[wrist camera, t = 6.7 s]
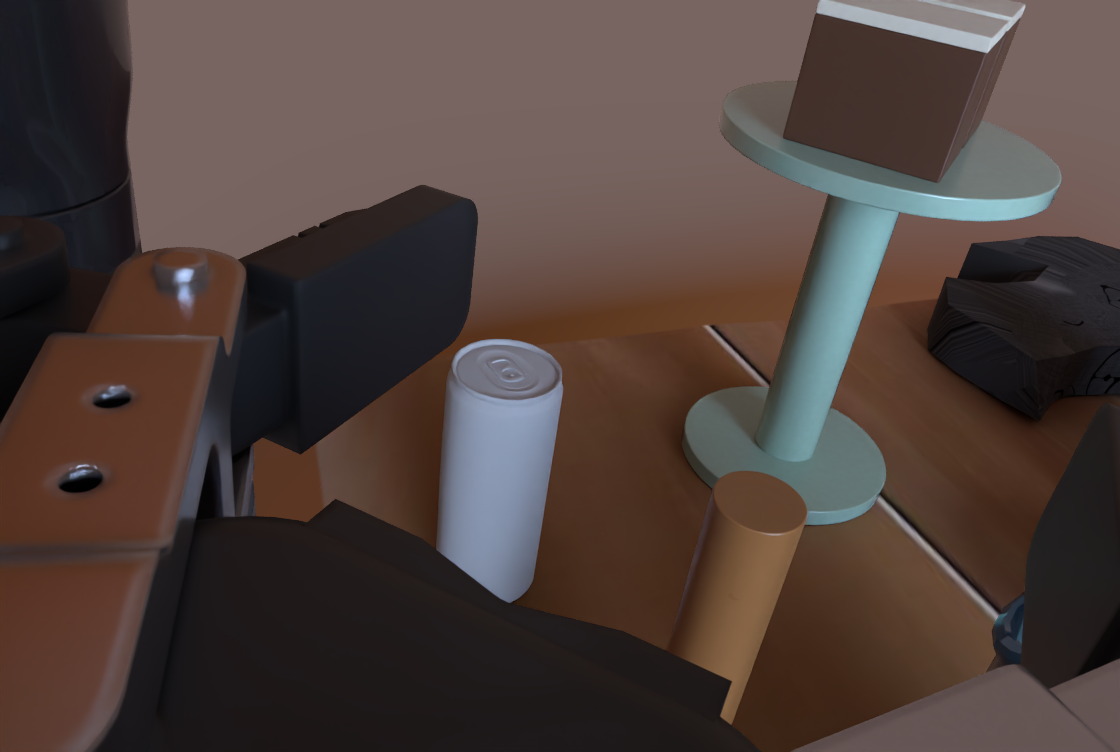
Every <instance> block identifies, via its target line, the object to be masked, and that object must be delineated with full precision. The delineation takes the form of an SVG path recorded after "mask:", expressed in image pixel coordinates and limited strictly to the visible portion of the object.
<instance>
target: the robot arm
mask: <svg viewBox="0 0 1120 752" xmlns="http://www.w3.org/2000/svg"><path fill="white" fill-rule="evenodd" d="M131 48H132V47H131V37H130V26H129V15H128V2H127V0H0V752H761V751H760V750H759V749H758V748H757V747H756V746H755V745H754V744H752V743H751V742H750V741H749V740H748V739H747V738H746V737H745V736H744V735H743V734H742V733H741V732H739V731H738V730H737V729H736V728H734V727H733V726H732V725H731V724H729V723H728V722H727V721H725V720H724V719H723V718H722V717H720V715H721V713H722V710H723V707H724V704H725V701H726V698H727V695H728V692H729V689H730V686H731V683H732V681H730V680H728V679H726V678H724V677H722V676H719V675H717V674H715V673H713V672H711V671H709V670H706V669H704V668H702V667H700V666H698V665H696V664H693V663H691V662H689V661H687V660H685V659H682V658H680V657H678V656H676V655H674V654H672V653H669V652H667V651H665V650H663V649H661V648H659V647H656V646H654V645H652V644H650V643H648V642H646V641H643V640H641V639H639V638H637V637H635V636H632V635H630V634H628V633H626V632H624V631H620V630H616V629H612V628H608V627H604V626H600V625H596V624H592V623H588V622H584V621H580V620H576V619H571V618H567V617H563V616H559V615H555V614H551V613H547V612H543V611H539V610H535V609H531V608H527V607H523V606H518V605H515V604H512V603H508V602H506V601H504V600H502V599H500V598H499V597H497V596H496V595H494V594H493V593H492V592H490V591H489V590H488V589H486V588H485V587H484V586H483V585H481V584H480V583H479V582H477V581H476V580H475V579H474V578H472V577H471V576H470V575H468V574H467V573H466V572H464V571H463V570H462V569H461V568H459V567H458V566H457V565H455V564H454V563H453V562H452V561H450V560H449V559H448V558H446V557H445V556H444V555H442V554H441V553H440V552H439V551H437V550H436V549H435V548H433V547H432V546H431V545H430V544H428V543H427V542H426V541H424V540H423V539H422V538H419V537H417V536H415V535H413V534H411V533H409V532H406V531H404V530H402V529H400V528H398V527H396V526H393V525H391V524H389V523H387V522H385V521H382V520H380V519H378V518H376V517H374V516H372V515H369V514H367V513H365V512H363V511H361V510H359V509H356V508H354V507H352V506H350V505H348V504H345V503H343V502H341V501H339V500H337V499H335V500H334V501H332V502H331V503H330V504H329V505H328V506H326V507H325V508H324V509H323V510H322V511H320V512H319V513H318V514H317V515H315V516H314V517H313V518H312V519H311V520H310V521H308V522H303V521H299V520H291V519H284V518H277V517H258V516H248V509H249V502H250V494H251V487H252V479H253V472H254V446H253V443H255V442H256V441H258V440H259V439H261V438H262V437H263V438H265V439H267V440H270V441H272V442H274V443H277V444H279V445H281V446H283V447H285V448H287V449H290V450H292V451H294V452H296V453H299V454H302V453H303V452H304V451H306V450H307V449H309V448H310V447H311V446H313V445H314V444H316V443H317V442H318V441H320V440H321V439H322V438H324V437H325V436H327V435H328V434H329V433H331V432H332V431H333V430H335V429H336V428H338V427H339V426H340V425H342V424H343V423H344V422H346V421H347V420H348V419H350V418H351V417H353V416H354V415H355V414H357V413H358V412H359V411H361V410H362V409H364V408H365V407H366V406H368V405H369V404H370V403H372V402H373V401H374V400H376V399H377V398H379V397H380V396H381V395H383V394H384V393H385V392H387V391H388V390H390V389H391V388H392V387H394V386H395V385H396V384H398V383H399V382H400V381H402V380H403V379H405V378H406V377H407V376H409V375H410V374H411V373H413V372H414V371H416V370H417V369H418V368H420V367H421V366H422V365H424V364H425V363H426V362H428V361H429V360H431V359H432V358H433V357H435V356H436V355H437V354H439V353H440V352H442V351H443V350H444V349H445V348H447V347H448V346H450V345H451V344H452V343H453V342H454V341H455V340H456V338H457V337H458V335H459V334H460V332H461V330H462V328H463V326H464V324H465V321H466V319H467V315H468V312H469V306H470V298H471V288H472V277H473V266H474V256H475V246H476V235H477V225H478V214H477V209H476V206H475V204H474V202H473V201H472V200H470V199H467V198H463V197H460V196H457V195H454V194H451V193H448V192H445V191H442V190H438V189H435V188H432V187H429V186H426V185H420V186H417V187H415V188H412V189H410V190H408V191H406V192H404V193H401V194H399V195H397V196H394V197H392V198H390V199H388V200H385V201H383V202H381V203H379V204H377V205H374V206H372V207H370V208H368V209H362V210H356V211H351V212H345V213H343V214H341V215H338V216H336V217H334V218H332V219H329V220H327V221H325V222H322V223H320V225H319V227H316V226H313V227H311V228H309V229H306V230H304V231H302V232H300V233H299V234H298V237H297V236H291V237H288V238H286V239H284V240H282V241H279V242H277V243H275V244H272V245H270V246H268V247H266V248H263V249H261V250H259V251H257V252H254V253H252V254H250V255H247V256H245V257H243V258H241V259H238V260H237V259H235V258H234V257H232V256H229V255H227V254H225V253H222V252H218V251H214V250H209V249H203V248H191V247H176V248H164V249H157V250H152V251H147V252H144V253H142V248H141V241H140V234H139V227H138V219H137V212H136V205H135V197H134V190H133V182H132V175H131V169H130V166H131V165H130V157H129V149H128V139H127V131H128V120H129V111H130V103H131V94H132V81H133V66H132V65H133V63H132V49H131ZM790 752H1120V407H1119V406H1116V405H1112V404H1109V403H1105V404H1103V405H1102V406H1101V407H1100V408H1099V409H1098V411H1097V412H1096V414H1095V415H1094V417H1093V418H1092V420H1091V422H1090V424H1089V425H1088V427H1087V429H1086V431H1085V433H1084V435H1083V437H1082V439H1081V441H1080V443H1079V445H1078V446H1077V448H1076V450H1075V452H1074V454H1073V456H1072V458H1071V460H1070V462H1069V464H1068V466H1067V467H1066V469H1065V471H1064V473H1063V475H1062V477H1061V479H1060V481H1059V483H1058V485H1057V486H1056V488H1055V490H1054V492H1053V494H1052V496H1051V498H1050V500H1049V502H1048V504H1047V506H1046V507H1045V509H1044V511H1043V513H1042V515H1041V518H1040V520H1039V522H1038V525H1037V527H1036V530H1035V532H1034V535H1033V538H1032V541H1031V544H1030V548H1029V552H1028V556H1027V563H1026V577H1025V595H1024V613H1023V630H1022V648H1021V665H1017V664H1012V665H1006V666H1003V667H1000V668H997V669H994V670H992V671H989V672H987V673H985V674H982V675H980V676H977V677H975V678H972V679H970V680H967V681H965V682H962V683H960V684H957V685H955V686H952V687H950V688H947V689H945V690H942V691H940V692H937V693H935V694H932V695H930V696H927V697H925V698H922V699H920V700H917V701H915V702H912V703H910V704H907V705H905V706H902V707H900V708H897V709H895V710H892V711H890V712H887V713H885V714H882V715H880V716H877V717H875V718H872V719H870V720H867V721H865V722H862V723H860V724H858V725H855V726H853V727H850V728H848V729H845V730H843V731H840V732H838V733H835V734H833V735H830V736H828V737H825V738H823V739H820V740H818V741H815V742H813V743H810V744H808V745H805V746H803V747H800V748H798V749H795V750H793V751H790Z"/></svg>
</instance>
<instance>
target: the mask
mask: <svg viewBox="0 0 1120 752" xmlns="http://www.w3.org/2000/svg"><path fill="white" fill-rule="evenodd" d="M927 333H928V350H929V351H930V352H931V353H933V354H934V355H935V356H936V357H938V358H939V359H940V360H941V361H942V362H944V363H945V364H946V365H947V366H949V367H950V368H951V369H952V370H953V371H955V372H956V373H958V374H960V375H961V376H963V377H964V378H966V379H968V380H969V381H971V382H972V383H974V384H976V385H977V386H979V387H980V388H982V389H983V390H985V391H987V392H988V393H990V394H991V395H993V396H995V397H996V398H998V399H1000V400H1002V401H1004V402H1005V403H1007V404H1009V405H1011V406H1013V407H1015V408H1016V409H1018V410H1020V411H1022V412H1024V413H1026V414H1027V415H1029V416H1031V417H1033V418H1035V419H1037V420H1038V421H1041V419H1042V417H1043V416H1044V414H1045V412H1046V410H1047V409H1048V407H1049V405H1050V404H1051V403H1052V402H1054V401H1056V400H1058V399H1061V398H1063V397H1065V396H1067V395H1098V394H1120V249H1116V248H1113V247H1110V246H1106V245H1103V244H1099V243H1096V242H1093V241H1089V240H1086V239H1083V238H1079V237H1053V236H1051V237H1049V236H1037V237H1030V238H1022V239H1016V240H1008V241H996V242H983V243H973V244H971V247H970V249H969V251H968V254H967V256H966V259H965V261H964V263H963V266H962V268H961V271H960V273H959V276H958V278H950V277H946V279H945V282H944V284H943V287H942V290H941V293H940V295H939V298H938V301H937V304H936V307H935V309H934V312H933V315H932V318H931V320H930V323H929V326H928V329H927Z"/></svg>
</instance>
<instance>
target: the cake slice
mask: <svg viewBox="0 0 1120 752" xmlns="http://www.w3.org/2000/svg"><path fill="white" fill-rule="evenodd" d="M917 1H922V2H926V3H931V4H935V5H940V6H944V7H949V8H953V9H958V10H962V11H967V12H971V13H976V14H980V15H985V16H989V17H994V18H998V19H1003V20H1007V21H1009V24H1008V26H1007V29H1006V32H1005V34H1004V35H1003V39H1002V42H1001V45H1000V47H999V50H998V53H997V55H996V58H995V61H994V63H993V66H992V68H991V71H990V74H989V76H988V79H987V82H986V84H985V87H984V90H983V92H982V95H981V97H980V100H979V103H978V105H977V108H976V111H975V113H974V116H973V119H972V121H971V124H970V127H969V129H968V132H967V134H966V137H965V140H964V142H963V145H962V148H964V147H965V145H966V144H967V142H968V141H969V139H970V138H971V137H972V135H973V134H974V132H975V131H976V130H977V128H978V127H979V125H980V123H981V120H982V117H983V115H984V112H985V110H986V107H987V105H988V102H989V99H990V97H991V94H992V92H993V89H994V86H995V83H996V81H997V79H998V76H999V73H1000V71H1001V68H1002V66H1003V63H1004V60H1005V58H1006V55H1007V53H1008V50H1009V47H1010V45H1011V42H1012V40H1013V37H1014V34H1015V32H1016V29H1017V27H1018V24H1019V21H1020V17H1021V16H1022V14H1023V11H1024V8H1025V6H1026V4H1023V3H1019V2H1014V1H1009V0H917Z"/></svg>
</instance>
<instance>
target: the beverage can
mask: <svg viewBox="0 0 1120 752" xmlns="http://www.w3.org/2000/svg"><path fill="white" fill-rule="evenodd" d="M561 380H562V370H561V367H560V364H559V363H558V362H557V361H556V359H555V358H554V357H553V356H552V355H550V354H549V353H548V352H546V351H545V350H543V349H541V348H539V347H537V346H535V345H532V344H528V343H525V342H522V341H516V340H509V339H490V340H482V341H478V342H475V343H472V344H469V345H467V346H465V347H464V348H462V349H460V350H459V351H458V352H457V354H456V355H455V356H454V358H453V361H452V364H451V369H450V371H449V374H448V377H447V382H446V396H445V409H444V423H443V436H442V450H441V465H440V481H439V502H438V524H437V540H436V550H437V551H439V552H440V553H441V554H442V555H444V556H445V557H446V558H448V559H449V560H450V561H452V562H453V563H454V564H455V565H457V566H458V567H459V568H461V569H462V570H463V571H464V572H466V573H467V574H468V575H470V576H471V577H472V578H474V579H475V580H476V581H477V582H479V583H480V584H481V585H483V586H484V587H485V588H486V589H488V590H489V591H490V592H492V593H493V594H494V595H496V596H497V597H499V598H500V599H502V600H504V601H506V602H508V603H511V602H513V601H514V600H516V599H518V598H520V597H521V596H522V595H523V594H524V593H525V592H526V591H527V590H528V589H529V587H530V585H531V583H532V581H533V578H534V572H535V565H536V559H537V553H538V546H539V540H540V534H541V527H542V521H543V515H544V509H545V502H546V496H547V490H548V483H549V477H550V471H551V464H552V458H553V452H554V446H555V439H556V433H557V427H558V420H559V414H560V408H561V401H562V395H563V385H562V382H561Z"/></svg>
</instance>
